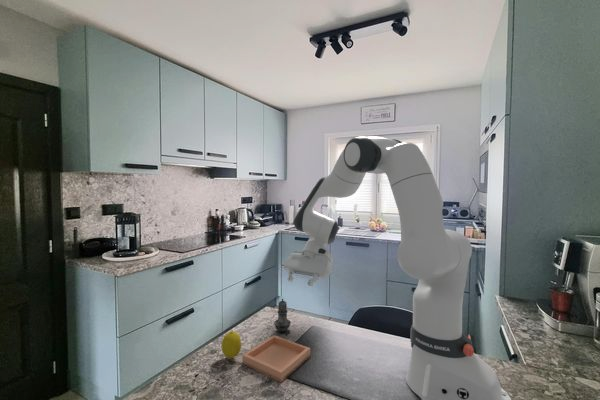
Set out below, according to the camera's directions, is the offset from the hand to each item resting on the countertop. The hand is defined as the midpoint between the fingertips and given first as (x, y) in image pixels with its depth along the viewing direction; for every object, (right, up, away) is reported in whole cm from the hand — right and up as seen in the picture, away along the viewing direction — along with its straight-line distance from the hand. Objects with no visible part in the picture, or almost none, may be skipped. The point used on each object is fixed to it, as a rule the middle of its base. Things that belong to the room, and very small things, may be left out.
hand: (299, 282), depth 104 cm
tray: (-6, -15, -25) cm, 30 cm away
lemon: (-20, -15, -25) cm, 35 cm away
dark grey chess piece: (-6, -15, -9) cm, 18 cm away
